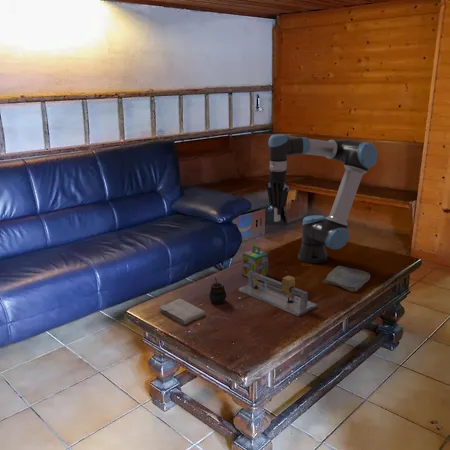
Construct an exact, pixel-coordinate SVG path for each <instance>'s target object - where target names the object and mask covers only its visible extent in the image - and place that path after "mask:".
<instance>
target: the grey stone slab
mask: <svg viewBox="0 0 450 450" xmlns="http://www.w3.org/2000/svg"><path fill="white" fill-rule="evenodd" d="M370 279H371V273H370V272H368V271H366V270H365V271H364V270H361V269H357V268H351V267H348V266H343V265H337V266H336V267H334V269H332V270H331V271H330V272H329V273H328V274H327V276H326V278H324V279H323V280H322V283H323V284H324V283H325V284H328V285H333V286H338V287H340V288H341V289H344V290H345V291H348V292H357V291H359V289H362V287H363V286H364V285H365V284H366V283H368V282H369V281H370Z"/></svg>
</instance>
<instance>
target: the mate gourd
mask: <svg viewBox="0 0 450 450" xmlns="http://www.w3.org/2000/svg"><path fill="white" fill-rule="evenodd" d="M214 281H215V282H213V283H211V284H210V291H209V300H210V302H211V303H213V304H216V305H219V304H220V305H221V304H223V303H224V302H225V301H226V297H227V291H226V290H225V285H224V283H223V282H218V280H217V277H216V276H214Z"/></svg>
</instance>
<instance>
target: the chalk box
mask: <svg viewBox="0 0 450 450" xmlns="http://www.w3.org/2000/svg"><path fill="white" fill-rule="evenodd" d="M241 263H242V264H241V265H242V268H241V269H242V270H241V274H242V276H243V277H246V278H248V272H250V271H253V272H255V273H258V274H261V275H263V276H266V277H267V276H268V273H269V272H268V270H269V267H268V266H269V253H267V252H265V251H261V247H260V246H256V245H252V248H251V250H249V251H246V252H243V253H242V262H241Z"/></svg>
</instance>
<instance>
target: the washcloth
mask: <svg viewBox="0 0 450 450" xmlns="http://www.w3.org/2000/svg"><path fill="white" fill-rule="evenodd" d="M158 310H159V312H160V313H162V314H163V315H165V316H167V317H168V318H170V319H172V320H174V321H176V322H177V323H179V324H181V325H188V324H189V323H191V322H193V321H196V320H199V319H200V318H202V317H204V316H206V311H205V310H203V309H201V308H199V307H197V306H196V305H194V304H192V303H190V302H188V301H185V300H184V299H182V298H177V299H174V300H173V301H170V302H167V303H164V304H162V305H160V306H159V308H158Z"/></svg>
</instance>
